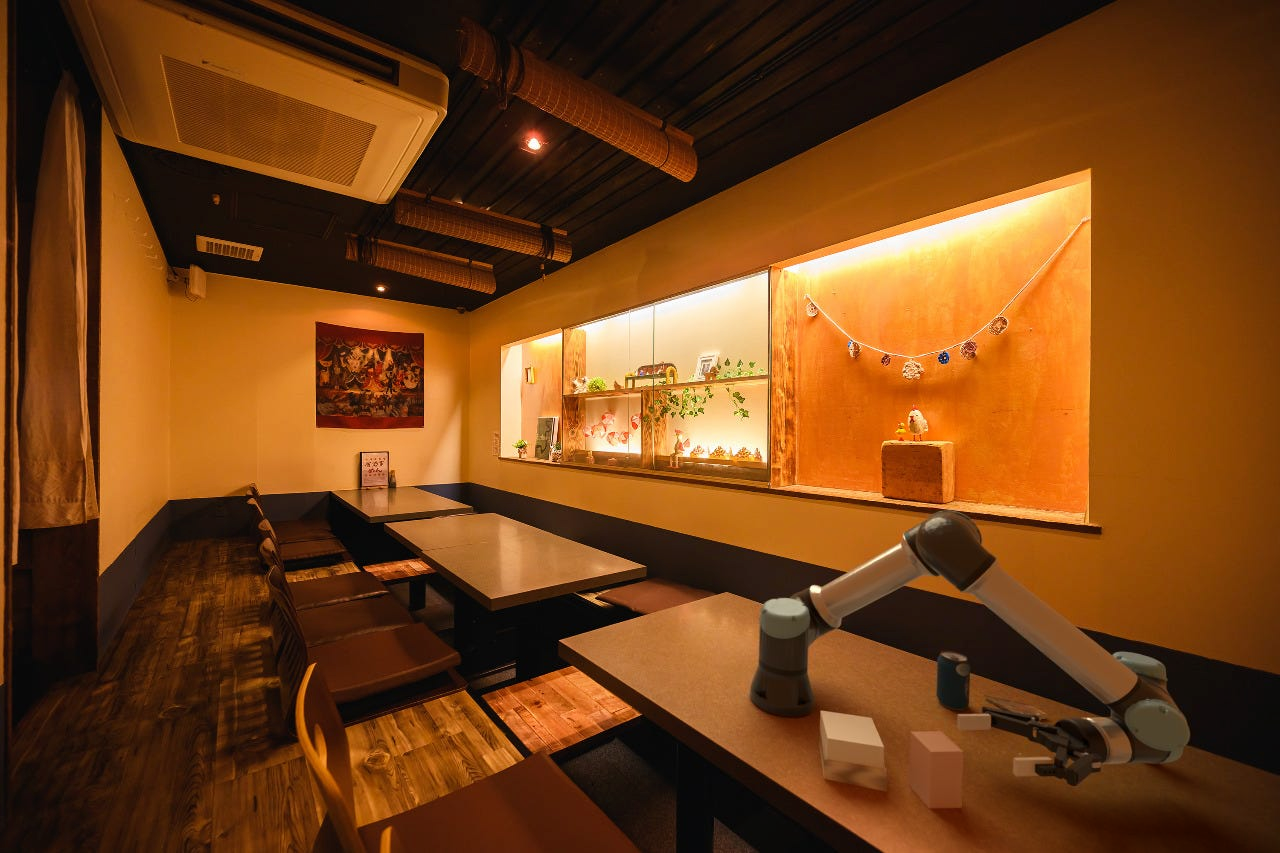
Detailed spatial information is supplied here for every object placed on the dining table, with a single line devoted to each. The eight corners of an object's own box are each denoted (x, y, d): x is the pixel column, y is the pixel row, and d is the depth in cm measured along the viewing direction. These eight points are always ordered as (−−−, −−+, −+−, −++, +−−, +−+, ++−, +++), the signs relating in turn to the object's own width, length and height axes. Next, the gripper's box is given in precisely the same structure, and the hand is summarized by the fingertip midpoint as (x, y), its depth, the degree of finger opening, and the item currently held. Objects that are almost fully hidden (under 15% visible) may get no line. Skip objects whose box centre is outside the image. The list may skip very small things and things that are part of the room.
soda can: (974, 713, 121) (975, 663, 122) (942, 709, 123) (943, 659, 123) (961, 698, 128) (963, 651, 128) (932, 695, 130) (933, 648, 130)
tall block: (929, 808, 89) (931, 751, 90) (908, 784, 95) (910, 731, 96) (961, 807, 90) (963, 751, 90) (938, 784, 96) (940, 731, 96)
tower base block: (823, 780, 96) (824, 759, 96) (819, 746, 107) (819, 727, 107) (886, 793, 93) (887, 772, 93) (875, 757, 104) (876, 737, 104)
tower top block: (826, 759, 96) (827, 738, 96) (819, 729, 106) (820, 710, 106) (883, 768, 94) (884, 747, 94) (870, 737, 104) (871, 717, 104)
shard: (983, 701, 129) (983, 693, 129) (1005, 697, 131) (1005, 690, 131) (1026, 725, 118) (1027, 717, 118) (1050, 720, 120) (1050, 713, 120)
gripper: (1163, 809, 83) (1043, 813, 81) (1033, 722, 108) (939, 724, 106) (1163, 763, 83) (1044, 766, 82) (1033, 687, 108) (940, 688, 106)
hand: (984, 742), depth 94 cm, fingers open, 13 cm apart
